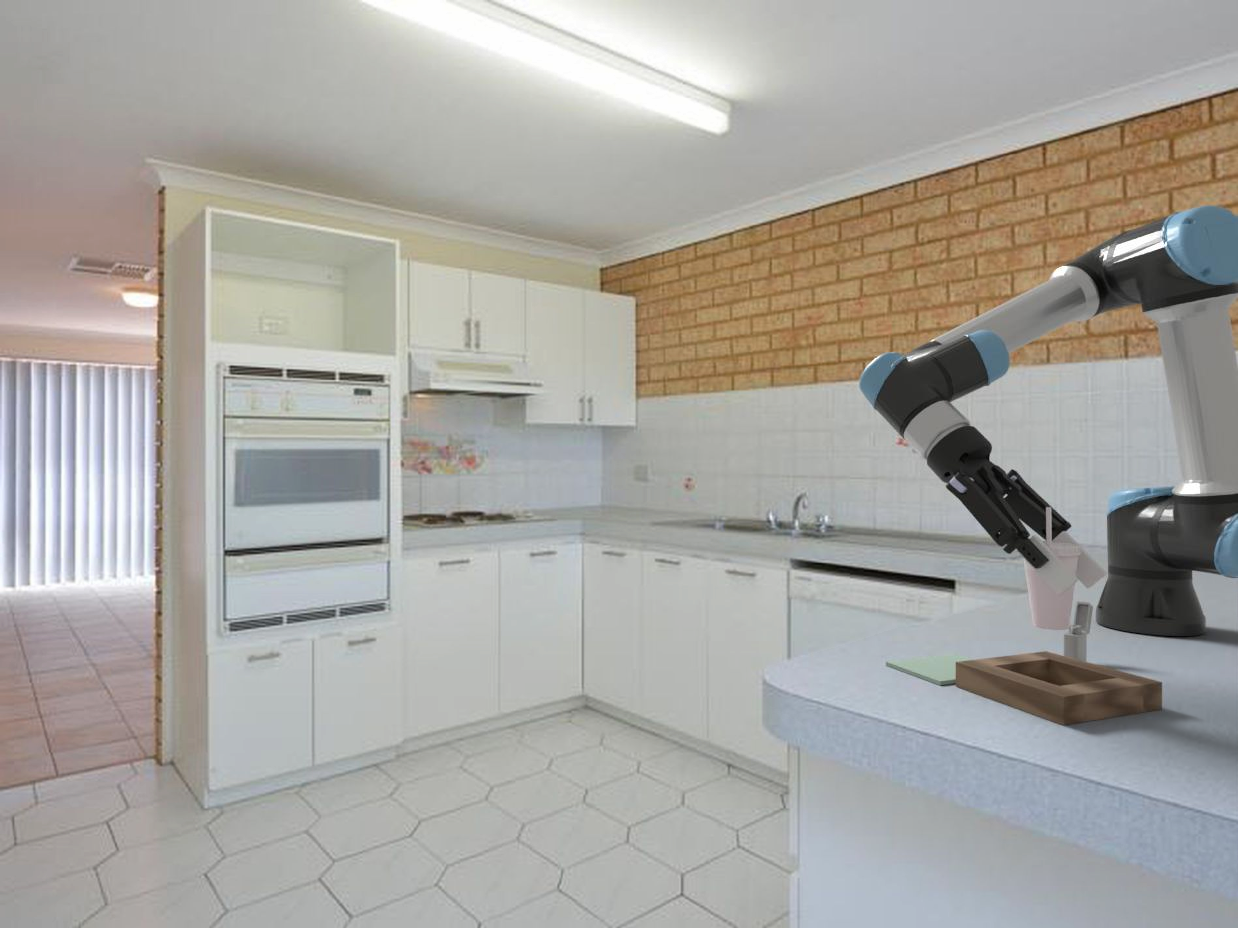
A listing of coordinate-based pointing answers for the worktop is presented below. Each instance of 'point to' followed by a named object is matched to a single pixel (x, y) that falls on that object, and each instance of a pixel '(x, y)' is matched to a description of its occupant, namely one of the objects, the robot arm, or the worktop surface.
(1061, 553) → the smoothie
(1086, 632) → the lighter
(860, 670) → the worktop surface
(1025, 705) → the caddy
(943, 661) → the mat
